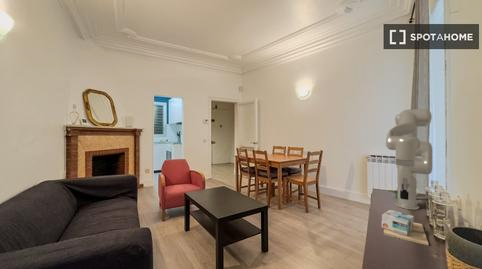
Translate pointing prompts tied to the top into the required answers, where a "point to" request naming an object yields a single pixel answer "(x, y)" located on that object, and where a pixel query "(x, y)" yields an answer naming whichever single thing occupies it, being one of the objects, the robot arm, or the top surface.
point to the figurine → (395, 192)
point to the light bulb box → (397, 222)
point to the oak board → (410, 234)
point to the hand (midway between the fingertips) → (404, 198)
